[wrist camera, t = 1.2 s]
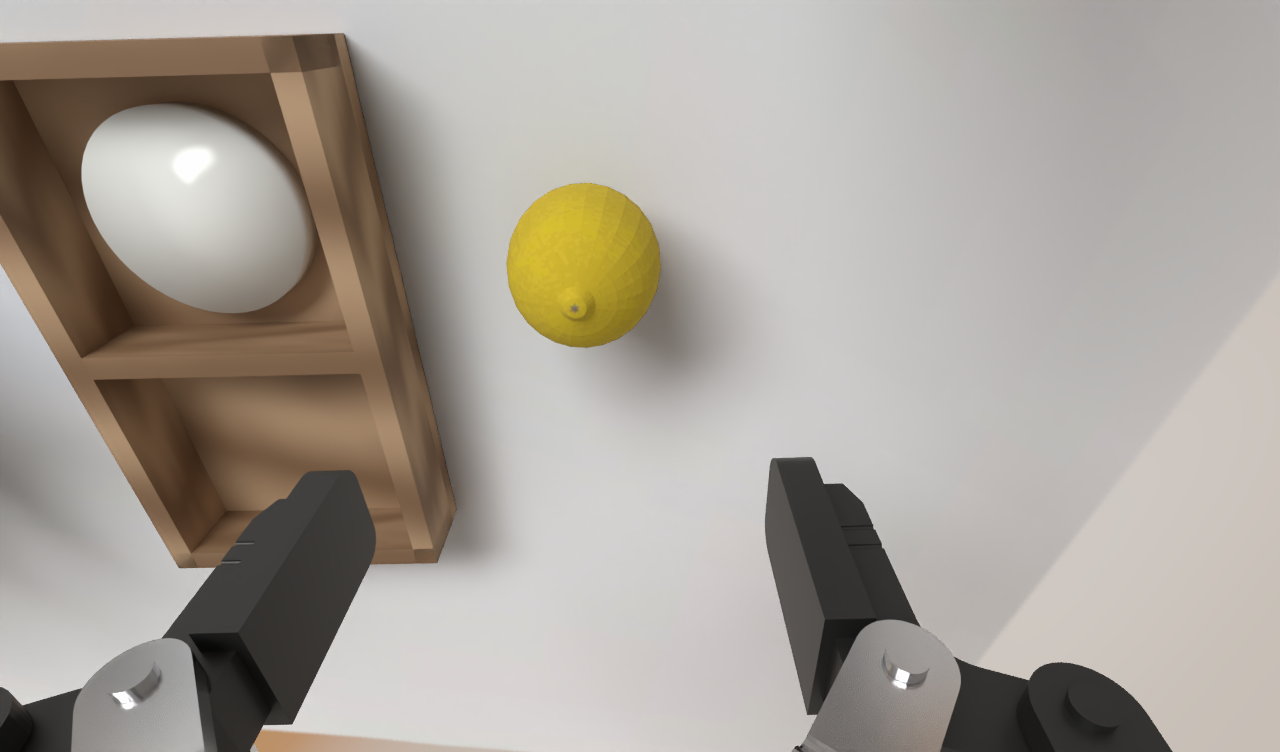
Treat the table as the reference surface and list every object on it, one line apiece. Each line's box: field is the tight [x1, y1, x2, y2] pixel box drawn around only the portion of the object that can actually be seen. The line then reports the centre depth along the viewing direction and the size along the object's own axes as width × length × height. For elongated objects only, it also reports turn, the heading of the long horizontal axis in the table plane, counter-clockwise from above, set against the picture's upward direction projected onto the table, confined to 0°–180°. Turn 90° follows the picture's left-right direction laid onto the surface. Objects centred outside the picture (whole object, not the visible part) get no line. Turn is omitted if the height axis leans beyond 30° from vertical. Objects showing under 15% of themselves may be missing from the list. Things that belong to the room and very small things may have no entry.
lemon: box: [507, 183, 661, 348], centre depth 22 cm, size 6×6×8 cm
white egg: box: [82, 101, 318, 313], centre depth 24 cm, size 8×8×1 cm
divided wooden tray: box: [0, 33, 457, 568], centre depth 26 cm, size 23×13×4 cm, turn 1°
